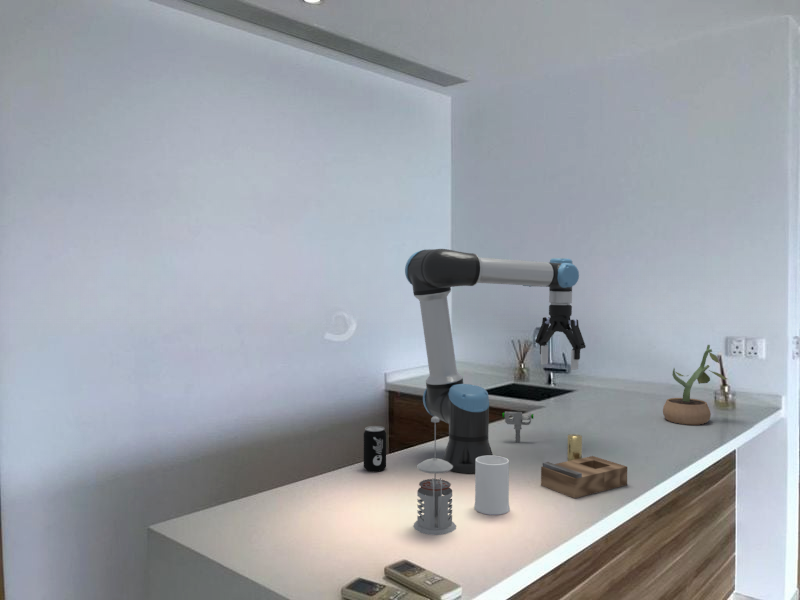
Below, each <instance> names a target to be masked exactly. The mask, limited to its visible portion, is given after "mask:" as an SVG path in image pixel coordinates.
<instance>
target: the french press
mask: <svg viewBox="0 0 800 600" xmlns="http://www.w3.org/2000/svg"><path fill="white" fill-rule="evenodd" d="M430 422H431V423H434V457H432V458H427V459H424V460H423V461H421V462H419V463H418V464H417V465H416V467H417V469H418V471H420V472H422V473H428V474H434V478H433V477H432V478H427V479H423V480H421V481H420V482H419V483H418V485H419V486H420V487H419V488H418V489H417V497H418V498H417V503H418V504H417V508H418V509H419V510H417V512H416V513H417V514H418V515H417V520H416V521H415V522H414V523H413V525H412V527H413V529H414V530H415V531H417V532H419V533H421V534H425V535H432V536H433V535H434V536H438V535H440V536H441V535H446V534H450V533H453V532H454V531H455V530H456V529H457V524H456V523H455V522H454V521H453V509H452V508H453V504H452V503H453V498H452V497H453V490H452V489H451V488H450V487H451V485H452V483H450V481H447V480H446V479H442V478H441V477H440V478H437V477H436V474H444V473H448V472H450V471H451V469H452V468H453V466H452V465H451V464H450V463H449V462H447V461H444V460H443V458H436V456H437V455H436V453H437V452H436V449H437V447H436V446H437V443H436V441H437V440H436V439H437V438H436V437H437V432H436V431H437V425H436V423H440V420H439V418H438V417H436V416H435V417H433V416H432V417H431V418H430Z"/></svg>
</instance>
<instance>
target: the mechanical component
mask: <svg viewBox="0 0 800 600" xmlns="http://www.w3.org/2000/svg"><path fill="white" fill-rule="evenodd" d="M501 414H502V418H504V421H505V422H504V423H506V424H507V425H514V427H513V429H514V430H515V438H514V439H515V443H517V444H519V443H520V441H521V430H522V429H523V428H522V426H529V425H531V424H532V420H534V413H531V412H529V413H528V415H527V417H526V416H524V415H523V412H522V411H504V412H502V413H501ZM510 417H512V418H510ZM524 421H525V422H524ZM526 421H527V422H526Z"/></svg>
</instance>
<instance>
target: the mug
mask: <svg viewBox="0 0 800 600" xmlns="http://www.w3.org/2000/svg"><path fill="white" fill-rule="evenodd" d="M474 475H475V477H474V478H475V479H474V483H475V484H474V485H475V486H474V492H475V493H474V506H473V508H474V510H475V511H476V512H478V513H479V514H484V515H489V516H490V515H491V516H501V515H504V514H508V512H510V509H511V508H510V502H509V501H510V500H509V498H510V497H509V496H510V488H509V487H510V484H509V483H510V460H509V459H508V458H507V457H504V456H499V455H487V456H480V457H477V458H476V460H475V473H474Z"/></svg>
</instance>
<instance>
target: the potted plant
mask: <svg viewBox="0 0 800 600" xmlns="http://www.w3.org/2000/svg"><path fill="white" fill-rule="evenodd" d="M710 347H711V345H710V344H707V346H706V348H705V349H706V350H705V351H704V352H703V355H702V358H701V359H702V360H701V362H700V366H699V367H698V368H697V369H696V370H695V371H694V372H693V374H692V375H691V376H690V377H689V378H688V380H687V381H685V380H683V379H682V378H680V377H684V374H681V373H679V372H677V371H675V370H676V369H675V367H673V369H672V373H671V374H672V377H673V379H674V380H675V381H676V382H677V383H678V384H679V385H681V386H682V387H683V388H684V389H683V392H682V393H683V394H682V397H672V398H668V399H665V403H664V404H663V408H662V413H663V417H664V419H665V420H667V421H668V422H670V423H673V422H674V424H677V423H679V424H678V425H684V424H686V425H687V426H700V424H702V425H705V424H707V423H708V422H709V421H710V419H711V415H712V413H711V410H710V407H709V405H708V403H707V401H705V400H701V399H696V398H691V390H692V387H693V385H694V382H695V381H696V380H697V382H698V384H699V385H700V384H708V383H709V382H710V381H711V378H710V376H709V375H708V374H707V373H706V371H707V370H708V371H710V372H711V373H712V374H714V375H716V376H717V377H719V378H721V380H728V378H727V377H725V376H724V375H723V374H721V373H718V372H716V371H712V370H710V369H709V368H710V366H711V365H709V364H707V365H706V361H707V358H708V355H709V357H710V359H712V360H713V362H715V363H718V364H720V361H719V357H718V356H717V355H716V354H714V353H712V352H713V350H712V348H710ZM689 375H690V374H687V375H686V377H688V376H689ZM704 423H705V424H704ZM686 425H685V426H686Z"/></svg>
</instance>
